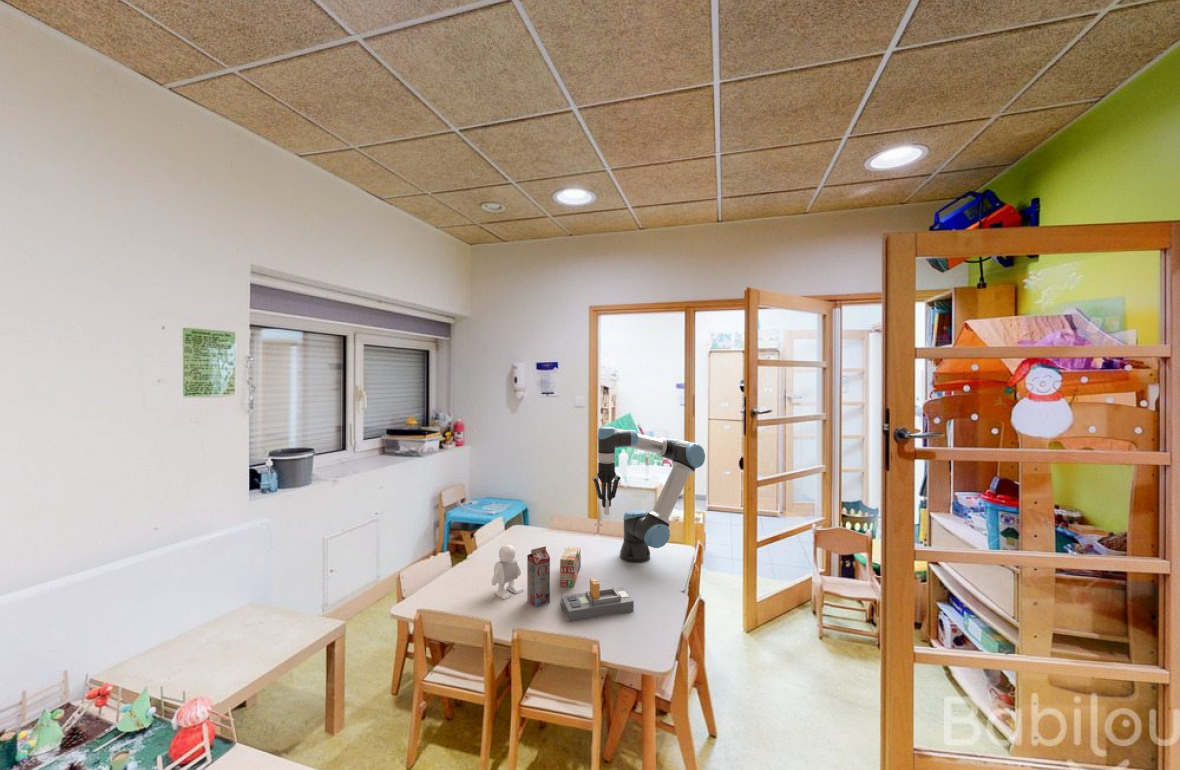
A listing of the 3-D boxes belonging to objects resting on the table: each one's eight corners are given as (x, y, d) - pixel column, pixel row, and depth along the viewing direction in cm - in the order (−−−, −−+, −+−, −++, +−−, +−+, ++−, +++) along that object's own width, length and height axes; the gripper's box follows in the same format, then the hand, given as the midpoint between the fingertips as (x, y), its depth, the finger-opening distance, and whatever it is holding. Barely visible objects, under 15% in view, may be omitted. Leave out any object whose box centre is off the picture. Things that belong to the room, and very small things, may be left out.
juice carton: (549, 602, 183) (549, 548, 183) (535, 607, 179) (535, 552, 179) (541, 595, 189) (541, 543, 188) (527, 600, 185) (527, 547, 184)
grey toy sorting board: (622, 596, 188) (622, 583, 188) (633, 611, 177) (633, 597, 177) (561, 605, 181) (561, 592, 180) (568, 621, 169) (568, 607, 169)
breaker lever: (595, 595, 181) (595, 577, 181) (599, 601, 176) (599, 583, 176) (589, 596, 180) (589, 578, 180) (593, 602, 176) (593, 583, 175)
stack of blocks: (567, 565, 218) (568, 540, 218) (580, 566, 218) (580, 541, 217) (559, 586, 197) (559, 558, 197) (574, 587, 196) (574, 559, 196)
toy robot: (499, 601, 184) (499, 552, 183) (487, 593, 190) (487, 546, 190) (526, 589, 194) (526, 543, 194) (514, 582, 200) (514, 537, 200)
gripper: (617, 459, 209) (616, 510, 210) (590, 461, 205) (590, 512, 206) (623, 462, 202) (623, 515, 203) (595, 464, 198) (595, 518, 199)
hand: (606, 513), depth 204 cm, fingers closed
